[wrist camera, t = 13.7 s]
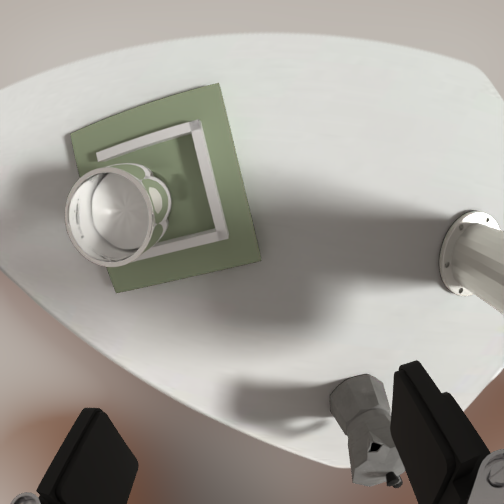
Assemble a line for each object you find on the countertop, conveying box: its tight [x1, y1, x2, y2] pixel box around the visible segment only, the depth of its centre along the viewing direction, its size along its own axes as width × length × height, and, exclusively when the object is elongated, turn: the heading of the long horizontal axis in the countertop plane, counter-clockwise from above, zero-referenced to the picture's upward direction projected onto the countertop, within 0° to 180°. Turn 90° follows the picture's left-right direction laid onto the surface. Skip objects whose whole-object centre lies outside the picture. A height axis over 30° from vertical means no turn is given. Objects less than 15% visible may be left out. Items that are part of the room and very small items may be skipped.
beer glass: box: [65, 163, 188, 267], centre depth 26 cm, size 7×7×15 cm
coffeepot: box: [330, 374, 405, 488], centre depth 36 cm, size 15×9×18 cm, turn 31°
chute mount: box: [70, 83, 261, 293], centre depth 33 cm, size 18×20×4 cm
